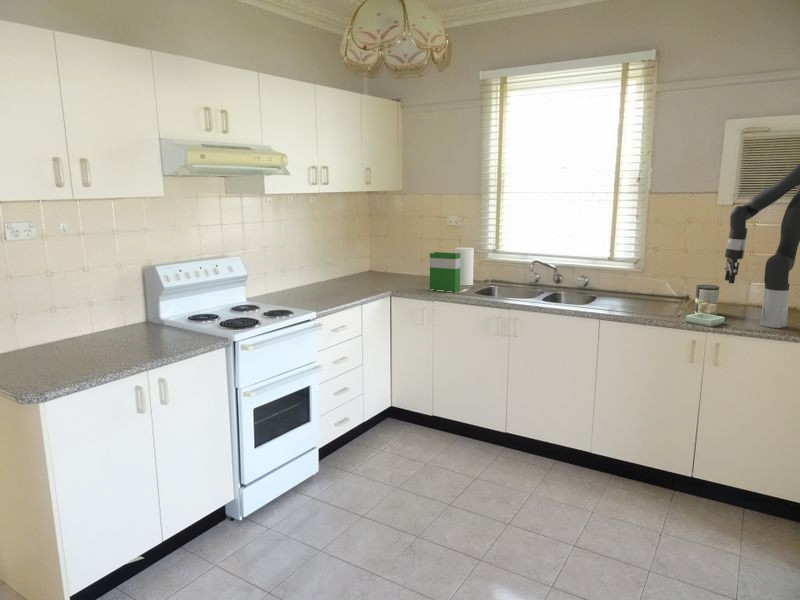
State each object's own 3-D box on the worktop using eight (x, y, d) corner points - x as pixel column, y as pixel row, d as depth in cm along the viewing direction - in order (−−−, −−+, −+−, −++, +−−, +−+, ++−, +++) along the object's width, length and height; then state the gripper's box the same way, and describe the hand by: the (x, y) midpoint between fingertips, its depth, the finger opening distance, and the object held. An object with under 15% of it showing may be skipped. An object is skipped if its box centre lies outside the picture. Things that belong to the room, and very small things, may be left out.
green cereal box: (429, 290, 355) (429, 253, 350) (434, 288, 361) (434, 252, 356) (455, 292, 346) (455, 254, 342) (459, 291, 353) (460, 253, 348)
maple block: (714, 318, 273) (715, 304, 272) (708, 319, 271) (710, 305, 269) (704, 316, 278) (705, 302, 276) (698, 317, 275) (699, 303, 274)
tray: (724, 323, 262) (724, 317, 262) (710, 326, 256) (711, 320, 255) (698, 318, 272) (699, 312, 272) (685, 321, 266) (685, 315, 265)
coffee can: (689, 312, 288) (691, 285, 285) (704, 310, 291) (707, 284, 288) (705, 316, 278) (708, 288, 275) (721, 314, 281) (724, 287, 278)
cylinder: (472, 286, 368) (473, 249, 363) (453, 286, 370) (454, 248, 365) (473, 283, 380) (474, 247, 375) (455, 283, 382) (455, 247, 377)
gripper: (748, 250, 257) (741, 285, 260) (740, 247, 270) (734, 280, 273) (729, 249, 259) (723, 283, 263) (723, 246, 272) (717, 278, 276)
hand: (729, 281), depth 268 cm, fingers open, 8 cm apart
